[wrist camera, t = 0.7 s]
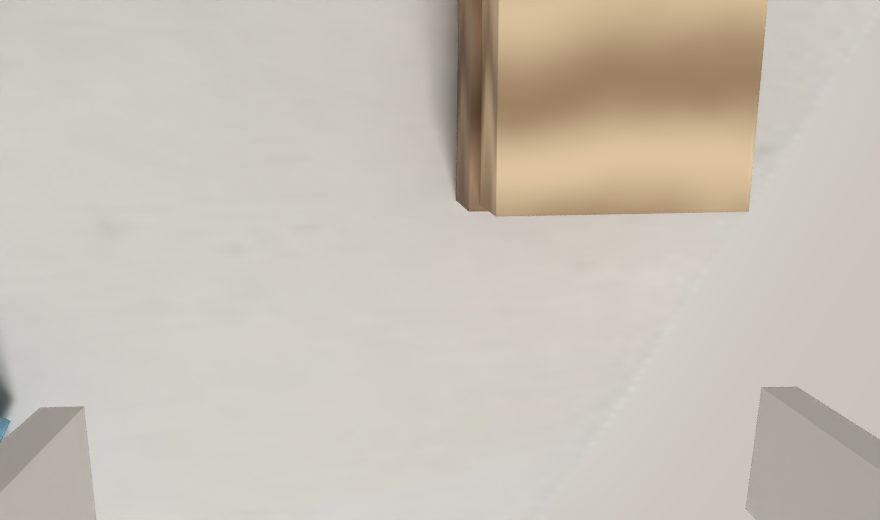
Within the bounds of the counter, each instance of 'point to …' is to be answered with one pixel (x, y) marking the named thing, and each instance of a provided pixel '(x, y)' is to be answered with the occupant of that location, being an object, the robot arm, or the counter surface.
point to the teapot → (3, 427)
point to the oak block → (619, 105)
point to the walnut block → (469, 105)
